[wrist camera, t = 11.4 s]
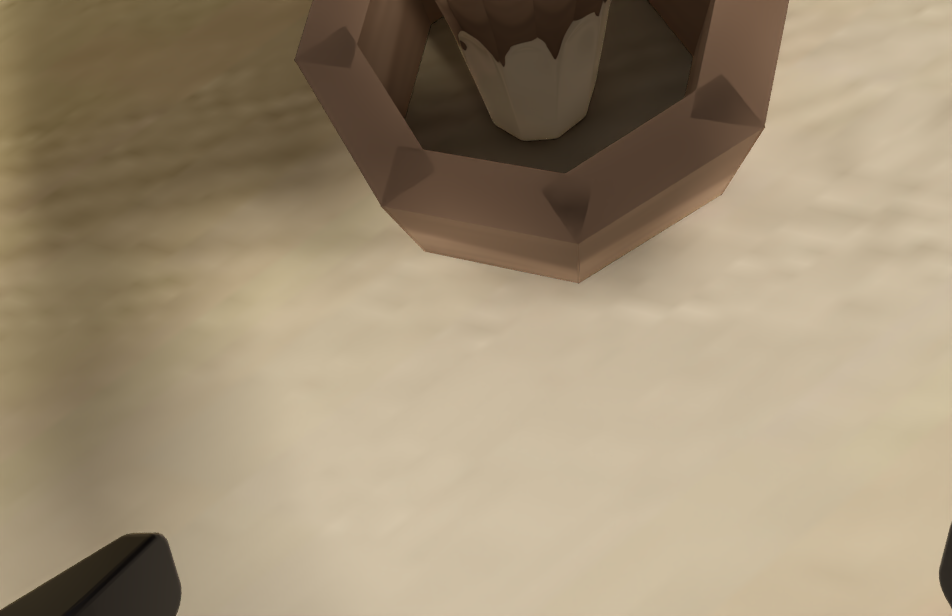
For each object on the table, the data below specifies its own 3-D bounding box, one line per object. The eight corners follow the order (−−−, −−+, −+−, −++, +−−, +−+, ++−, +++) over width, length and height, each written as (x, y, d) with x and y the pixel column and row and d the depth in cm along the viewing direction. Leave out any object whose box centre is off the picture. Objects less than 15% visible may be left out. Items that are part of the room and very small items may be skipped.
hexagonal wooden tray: (772, -58, 18) (827, -192, 14) (698, 308, 16) (735, 274, 12) (417, -88, 20) (376, -211, 16) (325, 231, 18) (256, 182, 14)
